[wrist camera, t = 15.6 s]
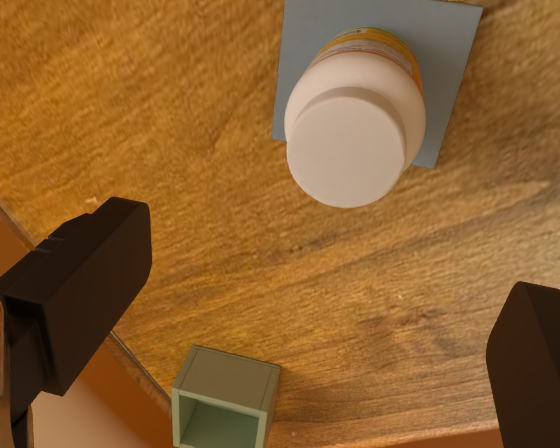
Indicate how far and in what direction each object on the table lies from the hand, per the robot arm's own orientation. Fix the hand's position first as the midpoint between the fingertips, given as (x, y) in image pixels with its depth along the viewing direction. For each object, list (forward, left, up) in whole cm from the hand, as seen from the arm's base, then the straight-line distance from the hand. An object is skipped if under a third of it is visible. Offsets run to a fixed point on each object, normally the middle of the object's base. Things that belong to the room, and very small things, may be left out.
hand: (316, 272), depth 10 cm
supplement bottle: (0, 0, -16) cm, 16 cm away
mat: (0, 0, -17) cm, 17 cm away
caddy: (-6, -26, -17) cm, 31 cm away
